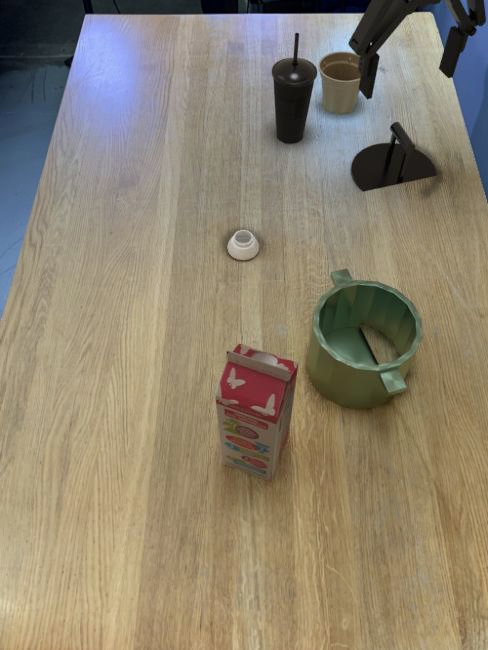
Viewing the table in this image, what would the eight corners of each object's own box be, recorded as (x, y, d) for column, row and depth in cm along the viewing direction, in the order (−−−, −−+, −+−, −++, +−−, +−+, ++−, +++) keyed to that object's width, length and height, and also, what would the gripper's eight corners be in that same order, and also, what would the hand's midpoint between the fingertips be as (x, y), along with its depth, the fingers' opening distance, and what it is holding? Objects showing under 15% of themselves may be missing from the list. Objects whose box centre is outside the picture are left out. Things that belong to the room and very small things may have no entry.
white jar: (221, 246, 96) (238, 266, 94) (221, 233, 94) (238, 253, 92) (247, 233, 98) (265, 252, 96) (247, 220, 96) (265, 240, 93)
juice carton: (240, 418, 79) (238, 325, 61) (288, 435, 78) (300, 345, 60) (221, 463, 76) (213, 378, 58) (271, 482, 74) (278, 401, 56)
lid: (412, 141, 111) (424, 98, 103) (450, 195, 103) (466, 153, 95) (337, 157, 108) (344, 114, 101) (370, 213, 100) (380, 171, 93)
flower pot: (349, 128, 113) (356, 87, 106) (305, 111, 116) (309, 71, 109) (370, 101, 117) (378, 60, 110) (327, 86, 120) (332, 45, 113)
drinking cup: (316, 130, 112) (328, 27, 96) (301, 155, 109) (310, 52, 92) (278, 120, 114) (284, 16, 98) (262, 144, 110) (265, 40, 94)
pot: (373, 301, 90) (386, 255, 81) (429, 411, 80) (452, 372, 71) (287, 322, 88) (291, 278, 79) (334, 438, 78) (345, 401, 69)
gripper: (513, -106, 76) (464, 51, 93) (336, -72, 71) (318, 87, 88) (551, -82, 72) (492, 78, 89) (366, -44, 67) (341, 117, 84)
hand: (405, 83), depth 89 cm, fingers open, 13 cm apart
